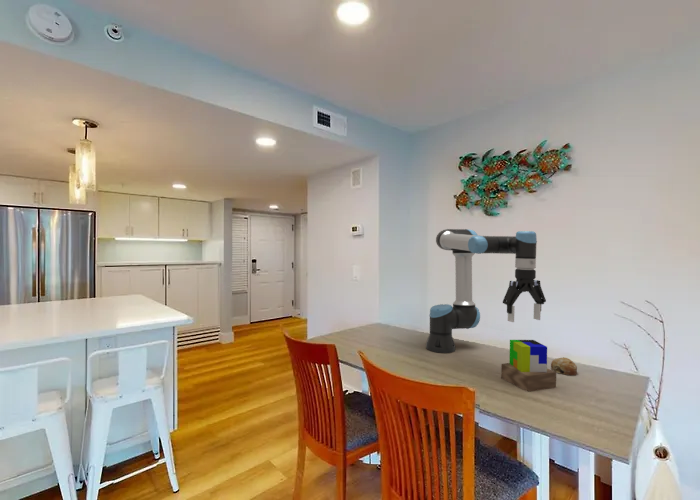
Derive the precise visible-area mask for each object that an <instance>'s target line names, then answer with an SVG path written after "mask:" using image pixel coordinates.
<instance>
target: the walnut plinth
mask: <svg viewBox="0 0 700 500" xmlns="http://www.w3.org/2000/svg"><path fill="white" fill-rule="evenodd" d="M500 366H501V367H500V368H501V369H500V372H501V373H500V376H501V377H500V378H501V379H502V380H504V381H506V382H508V383H510V384H512V385H514V386H516V387H518V388H520V389H521V390H524V391H526V392H535V391H540V390H548V389H554V388H556V387H557V373H556V372H555V371H553V370H552V369H549V368H547V372H521V371H519V370H518V369H517V368H515V367H514V366H512V365H511V364H510V363H509V362H505V363H501V364H500Z"/></svg>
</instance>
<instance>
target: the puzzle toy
mask: <svg viewBox="0 0 700 500" xmlns="http://www.w3.org/2000/svg"><path fill="white" fill-rule="evenodd" d="M508 363H510V364H511V365H512V366H514V367H515V368H517V369H518V370H519V371H521V372H547V369H548V346H547V345H544V344H543V343H540V342H539V341H536V340H535V339H509V362H508Z"/></svg>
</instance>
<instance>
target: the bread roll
mask: <svg viewBox="0 0 700 500" xmlns="http://www.w3.org/2000/svg"><path fill="white" fill-rule="evenodd" d="M550 368H551V370H552V371H555V372H556V374H560V375H565V376H576V375H577V372H578V366H577V364H576V363H575V362H574V361H572V360H571V359H570V358H568V357H558V358H554V359H553V360H552V361H551V363H550Z"/></svg>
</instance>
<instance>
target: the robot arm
mask: <svg viewBox="0 0 700 500" xmlns="http://www.w3.org/2000/svg"><path fill="white" fill-rule="evenodd" d="M537 242H538V241H537V232H536V231H532V230H531V231H530V230H529V231H528V230H527V231H525V230H524V231H523V230H522V231H521V230H520V231H517V232H516V233H515V235H514V236H511V235H510V236H509V235H507V236H506V235H505V236H503V235H502V236H501V235H500V236H499V235H497V236H496V235H493V236H492V235H491V236H490V235H478V233H477V232H476V231H475V230H473V229H466V228H465V229H464V228H463V229H462V228H461V229H459V228H457V229H455V228H447V229H443V230H440V231H439V232H438V233H437V234H436V237H435V243H436V245H437V247H439V249H442V250H443V251H452V254H451V255H453V256H454V258H455V259H454V260H455V261H454V263H455V264H454V265H455V301H453V303H452V304H448V303H446V304H445V303H444V304H443V303H442V304H441V303H440V304H435V305H432V306H431V307H430V309H429V315H428V316H429V335H428V337H427V340H426V343H425V348H426V349H427V350H428V351H430V352H434V353H441V354H447V353H453V352H455V351H456V344H455V340H454V338H453V330H462V329H463V330H464V329H467V330H469V329H474V328H476V327H477V326H478V325H479V324H480V321H481V313H480V309H479V307H477V306H476V303H475V301H474V300H473V261H472V260H473V256H474V255H475V254H477V255H478V254H500V255H501V254H502V255H503V254H509V255H510V254H512V255H514V254H515V261H514V262H515V263H514V264H515V265H514V267H515V268H516V269H514V277H515V278H516V280H509V285H508V288H507V290H506V293H505V295H504V297H503V300H502V304H504V305H506V313H507V321H508V322H511V323H515V305H514V304H515V302H516V301H517V300H518V298H519V297H520V295H521V294H522V293H526V292H527V293H528V294H529V295H530V296H531V298H532V299H533V301H534V302H535V303H533V319H534V320H537V321H541V314H542V313H541V312H542V305H544V304H545V303H546V302H547V298H546V297H545V294H544V291H543V289H542V286H541V281H540V280H539V279H538V280H537V279H536V277H537V275H536V267H537V263H536V262H537V244H538V243H537Z"/></svg>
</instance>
